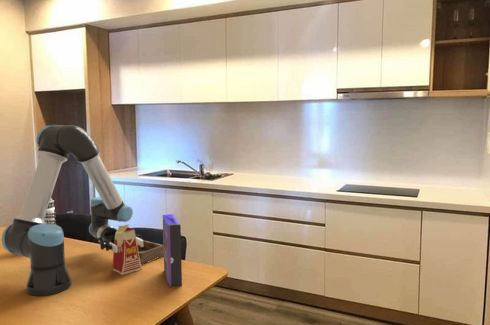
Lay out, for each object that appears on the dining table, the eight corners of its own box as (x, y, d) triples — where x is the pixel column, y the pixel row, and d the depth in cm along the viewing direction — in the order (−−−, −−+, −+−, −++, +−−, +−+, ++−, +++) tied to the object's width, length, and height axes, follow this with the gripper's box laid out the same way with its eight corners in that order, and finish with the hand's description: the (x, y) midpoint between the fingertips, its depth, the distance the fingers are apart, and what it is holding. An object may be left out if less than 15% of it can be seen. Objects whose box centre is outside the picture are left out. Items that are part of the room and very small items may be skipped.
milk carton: (142, 269, 170) (140, 223, 168) (122, 275, 164) (120, 227, 161) (130, 264, 176) (128, 219, 174) (111, 269, 170) (109, 223, 167)
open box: (164, 255, 187) (164, 245, 186) (141, 264, 175) (141, 253, 175) (144, 250, 194) (143, 240, 194) (121, 258, 183) (121, 248, 182)
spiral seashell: (37, 246, 200) (34, 197, 198) (58, 244, 204) (55, 196, 202) (37, 252, 192) (33, 201, 190) (58, 249, 196) (55, 199, 193)
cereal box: (164, 270, 168) (162, 214, 166) (175, 269, 170) (174, 213, 167) (169, 287, 152) (167, 225, 149) (181, 285, 153) (180, 224, 151)
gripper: (132, 237, 190) (155, 249, 174) (82, 248, 175) (102, 261, 159) (132, 222, 189) (154, 232, 173) (82, 231, 174) (101, 243, 158)
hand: (129, 246), depth 166 cm, fingers open, 11 cm apart
